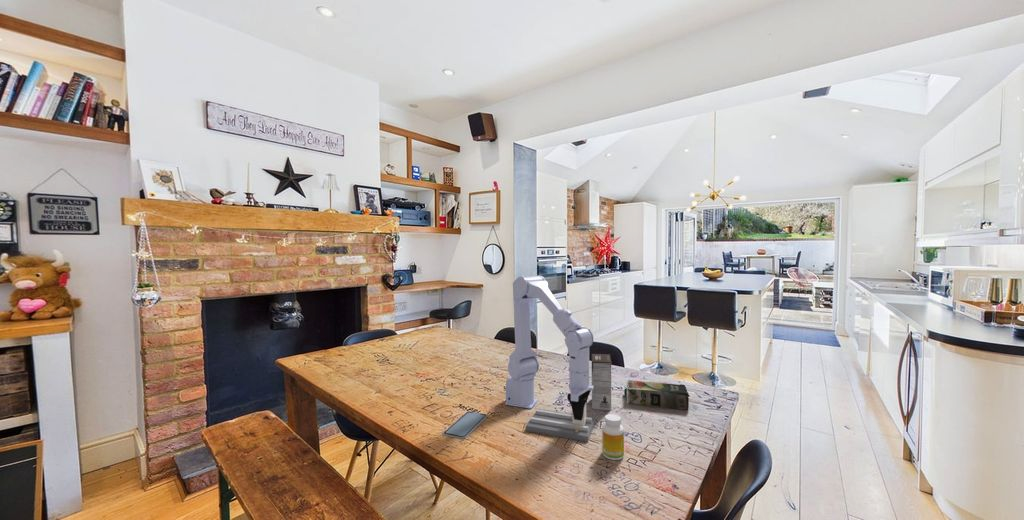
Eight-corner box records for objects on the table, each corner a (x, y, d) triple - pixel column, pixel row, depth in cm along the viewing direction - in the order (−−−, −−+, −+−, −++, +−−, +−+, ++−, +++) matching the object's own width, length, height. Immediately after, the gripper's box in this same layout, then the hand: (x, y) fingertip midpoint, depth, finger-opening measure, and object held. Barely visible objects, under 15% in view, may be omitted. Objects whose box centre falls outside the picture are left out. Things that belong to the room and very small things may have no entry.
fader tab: (572, 425, 105) (572, 405, 105) (575, 419, 109) (574, 400, 109) (584, 427, 104) (583, 407, 104) (586, 421, 108) (586, 402, 108)
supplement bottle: (626, 460, 91) (626, 422, 91) (604, 460, 91) (604, 422, 91) (620, 449, 96) (620, 412, 96) (600, 449, 96) (599, 412, 96)
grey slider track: (525, 430, 106) (525, 422, 106) (538, 413, 118) (538, 405, 117) (588, 442, 100) (588, 433, 100) (594, 422, 111) (594, 414, 111)
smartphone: (441, 433, 105) (467, 410, 119) (441, 436, 105) (467, 413, 119) (464, 438, 102) (488, 414, 116) (464, 441, 102) (488, 417, 116)
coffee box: (591, 398, 129) (591, 353, 129) (610, 399, 128) (610, 354, 127) (591, 409, 120) (591, 360, 120) (612, 411, 119) (611, 361, 118)
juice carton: (623, 404, 124) (624, 386, 124) (624, 393, 134) (624, 377, 133) (689, 412, 118) (689, 393, 118) (684, 400, 128) (684, 383, 127)
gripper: (588, 380, 98) (589, 430, 98) (597, 364, 111) (597, 408, 112) (563, 377, 101) (563, 425, 101) (574, 361, 114) (574, 404, 114)
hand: (579, 416), depth 107 cm, fingers closed on fader tab, 3 cm apart
